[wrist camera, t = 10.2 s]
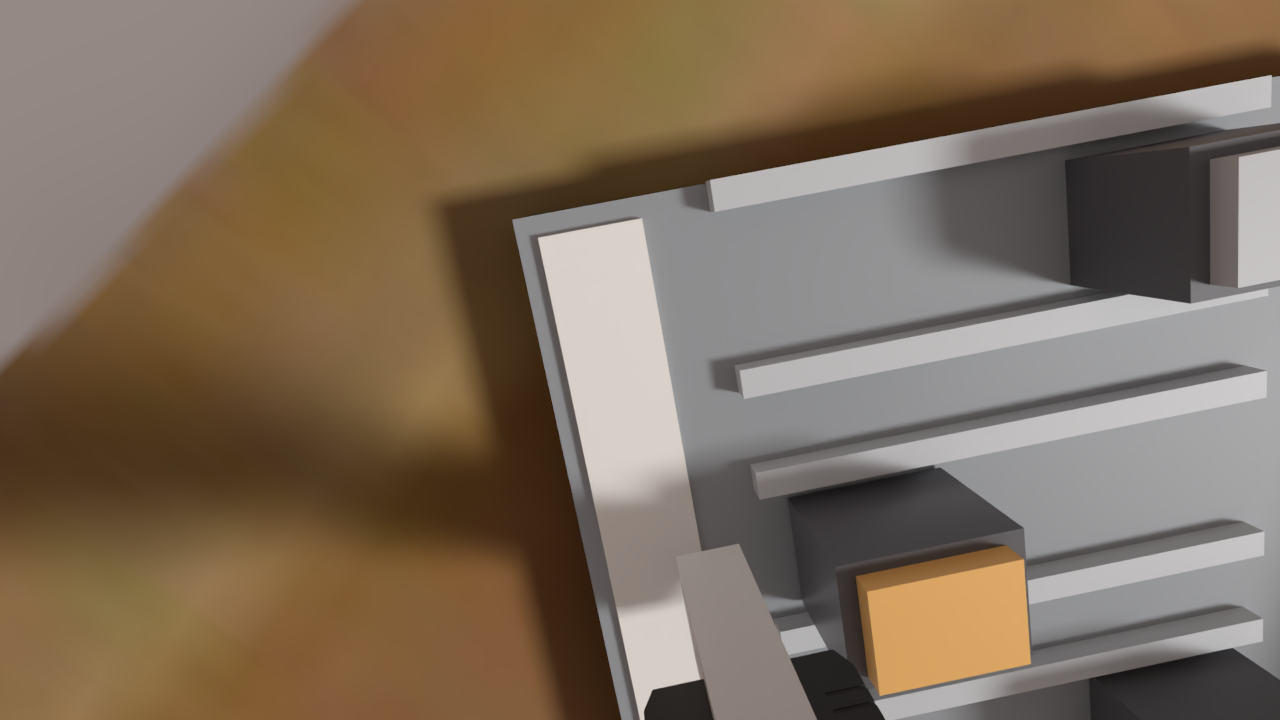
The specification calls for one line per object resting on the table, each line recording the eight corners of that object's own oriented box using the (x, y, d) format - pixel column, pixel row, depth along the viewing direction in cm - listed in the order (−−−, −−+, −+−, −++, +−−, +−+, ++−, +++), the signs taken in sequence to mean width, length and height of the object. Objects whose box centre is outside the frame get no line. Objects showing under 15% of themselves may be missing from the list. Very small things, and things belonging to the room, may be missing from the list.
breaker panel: (652, 826, 22) (675, 1055, 16) (520, 216, 18) (485, 219, 12) (1317, 683, 23) (1578, 852, 17) (1340, 63, 18) (1697, -7, 13)
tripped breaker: (802, 603, 18) (862, 712, 14) (787, 498, 18) (845, 582, 14) (950, 572, 18) (1050, 672, 14) (940, 467, 18) (1042, 541, 14)
